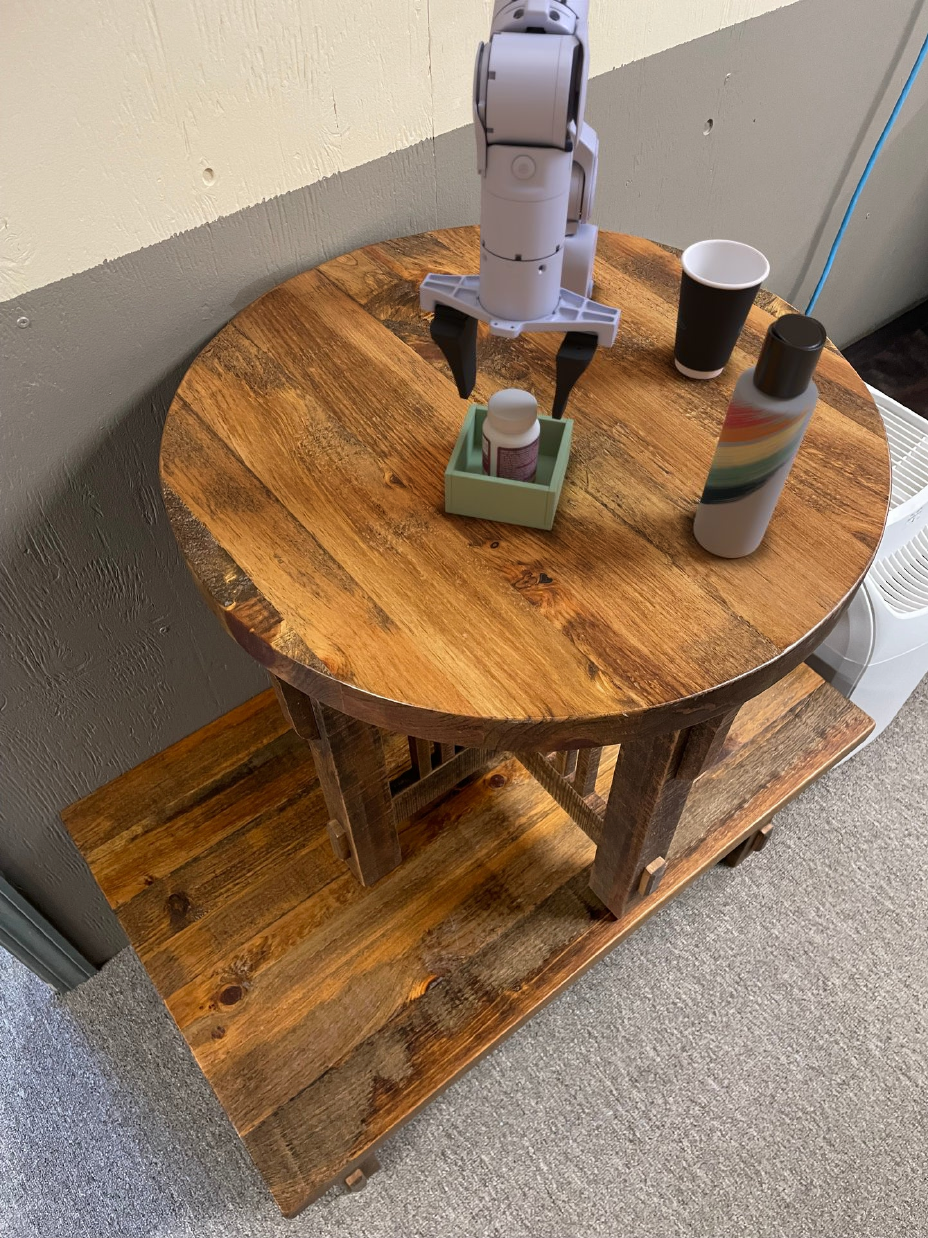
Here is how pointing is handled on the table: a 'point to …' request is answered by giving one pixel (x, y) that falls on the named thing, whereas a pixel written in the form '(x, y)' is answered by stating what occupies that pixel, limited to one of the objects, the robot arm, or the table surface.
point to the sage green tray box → (506, 496)
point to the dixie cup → (714, 303)
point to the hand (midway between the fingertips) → (512, 401)
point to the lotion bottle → (760, 438)
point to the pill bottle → (511, 436)
